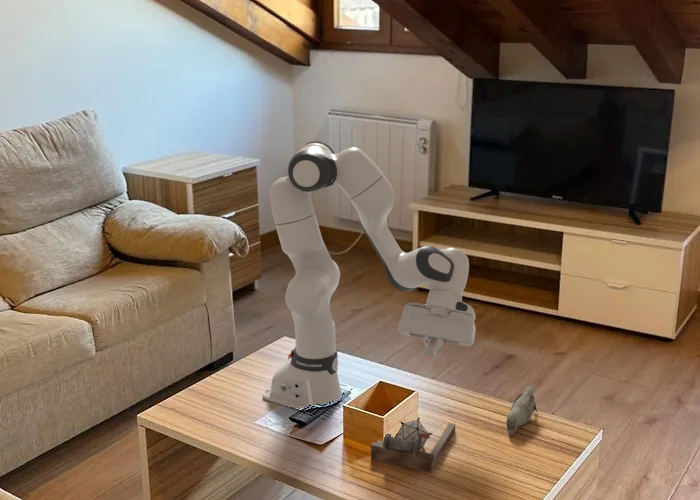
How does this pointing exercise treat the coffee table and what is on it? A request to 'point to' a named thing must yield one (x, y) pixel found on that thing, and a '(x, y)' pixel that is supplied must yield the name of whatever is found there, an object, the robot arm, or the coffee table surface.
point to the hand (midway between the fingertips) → (429, 355)
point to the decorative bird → (521, 410)
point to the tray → (411, 450)
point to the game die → (412, 431)
